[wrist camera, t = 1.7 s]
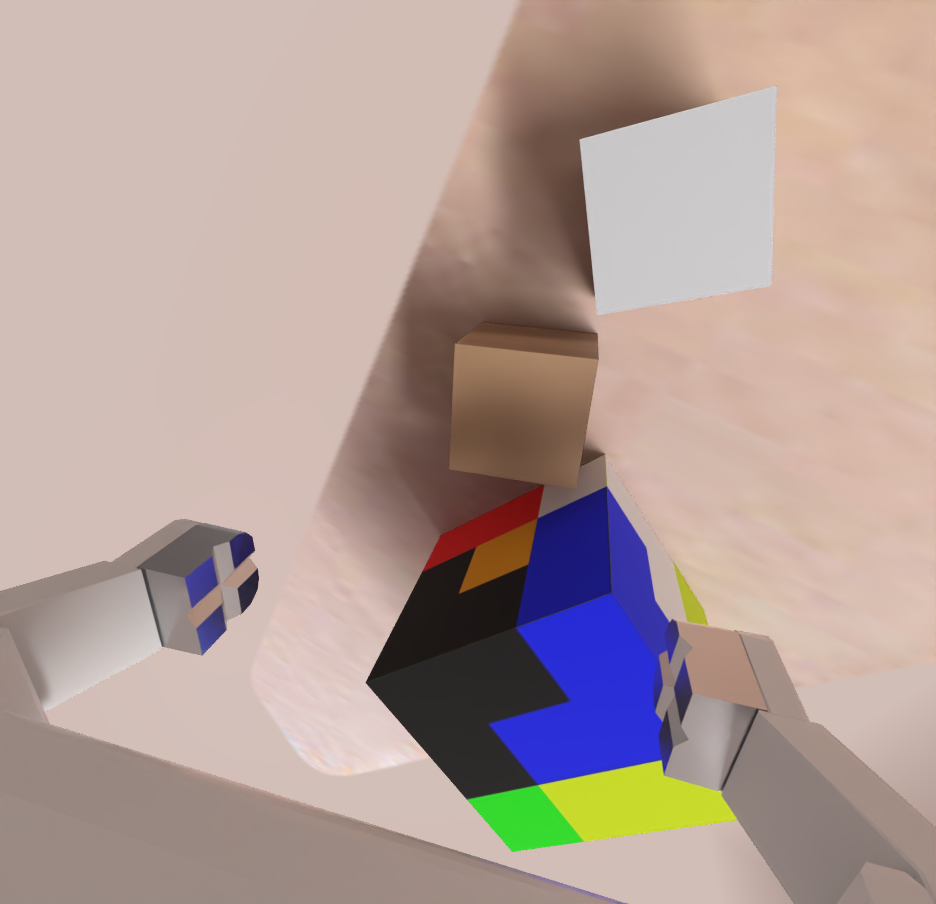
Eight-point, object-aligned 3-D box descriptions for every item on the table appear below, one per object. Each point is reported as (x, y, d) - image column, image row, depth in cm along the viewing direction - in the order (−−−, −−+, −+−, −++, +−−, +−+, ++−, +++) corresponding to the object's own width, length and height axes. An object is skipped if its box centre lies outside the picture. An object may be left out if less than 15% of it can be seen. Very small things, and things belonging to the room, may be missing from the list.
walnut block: (483, 321, 22) (454, 343, 17) (597, 333, 21) (598, 359, 16) (475, 425, 24) (448, 469, 19) (579, 440, 23) (576, 489, 18)
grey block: (583, 162, 18) (579, 139, 14) (729, 124, 17) (776, 85, 13) (596, 297, 20) (596, 315, 16) (729, 273, 19) (771, 285, 14)
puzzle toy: (605, 453, 23) (612, 592, 14) (703, 609, 25) (764, 816, 16) (441, 534, 27) (365, 682, 18) (537, 662, 29) (512, 851, 20)
